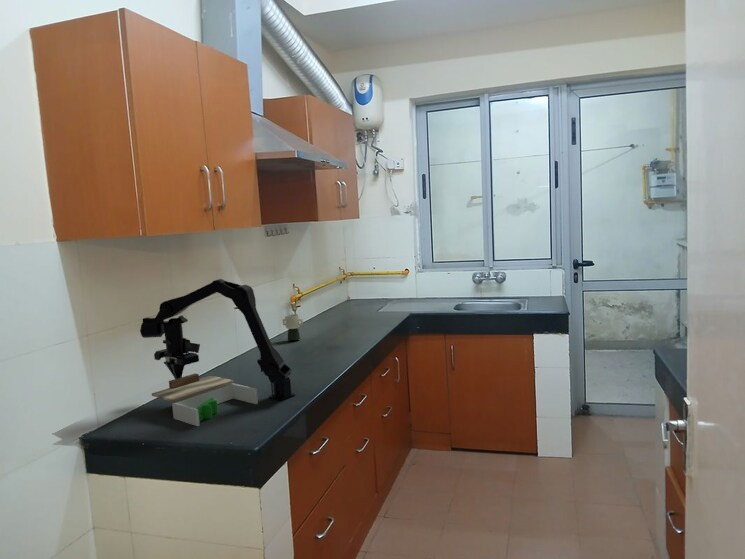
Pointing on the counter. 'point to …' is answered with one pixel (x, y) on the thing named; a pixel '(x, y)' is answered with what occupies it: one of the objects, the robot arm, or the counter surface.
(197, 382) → the lid
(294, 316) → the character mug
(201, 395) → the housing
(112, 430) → the counter surface
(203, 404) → the pipe clamp
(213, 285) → the robot arm
